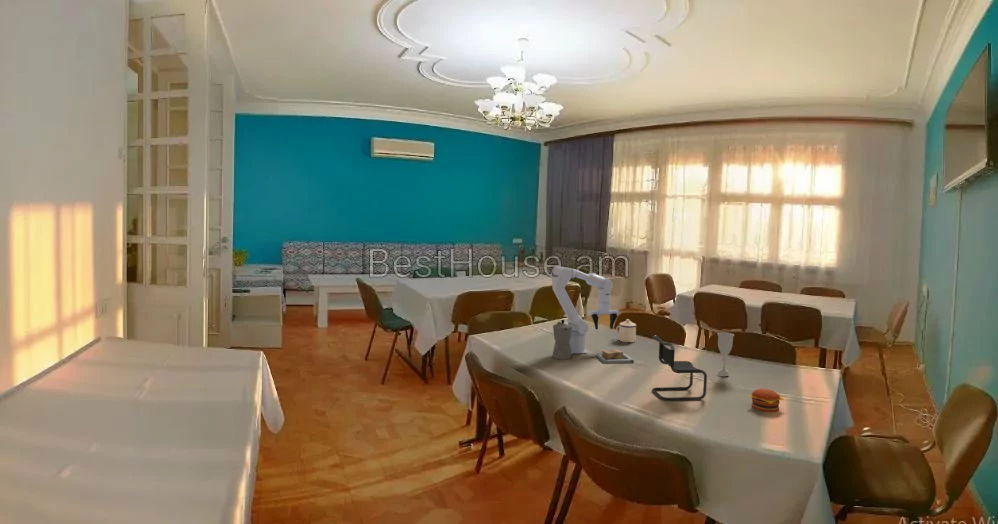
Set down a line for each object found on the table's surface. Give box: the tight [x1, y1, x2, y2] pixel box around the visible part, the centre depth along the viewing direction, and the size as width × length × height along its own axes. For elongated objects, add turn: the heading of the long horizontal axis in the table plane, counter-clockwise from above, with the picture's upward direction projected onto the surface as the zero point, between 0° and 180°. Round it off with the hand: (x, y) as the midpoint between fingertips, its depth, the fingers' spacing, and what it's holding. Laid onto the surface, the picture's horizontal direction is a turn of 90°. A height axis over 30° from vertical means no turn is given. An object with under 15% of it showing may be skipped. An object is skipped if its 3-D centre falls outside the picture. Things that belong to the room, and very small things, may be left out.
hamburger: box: [747, 388, 785, 413], centre depth 206 cm, size 9×10×7 cm
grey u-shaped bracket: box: [595, 352, 635, 364], centre depth 269 cm, size 14×12×1 cm
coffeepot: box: [552, 319, 572, 360], centre depth 272 cm, size 15×9×18 cm, turn 8°
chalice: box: [717, 331, 735, 377], centre depth 245 cm, size 7×7×18 cm
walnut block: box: [601, 348, 624, 360], centre depth 269 cm, size 8×5×4 cm, turn 112°
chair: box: [651, 335, 708, 402], centre depth 218 cm, size 13×17×22 cm
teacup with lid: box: [615, 318, 637, 343], centre depth 307 cm, size 12×9×12 cm
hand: (603, 328), depth 286 cm, fingers open, 7 cm apart
